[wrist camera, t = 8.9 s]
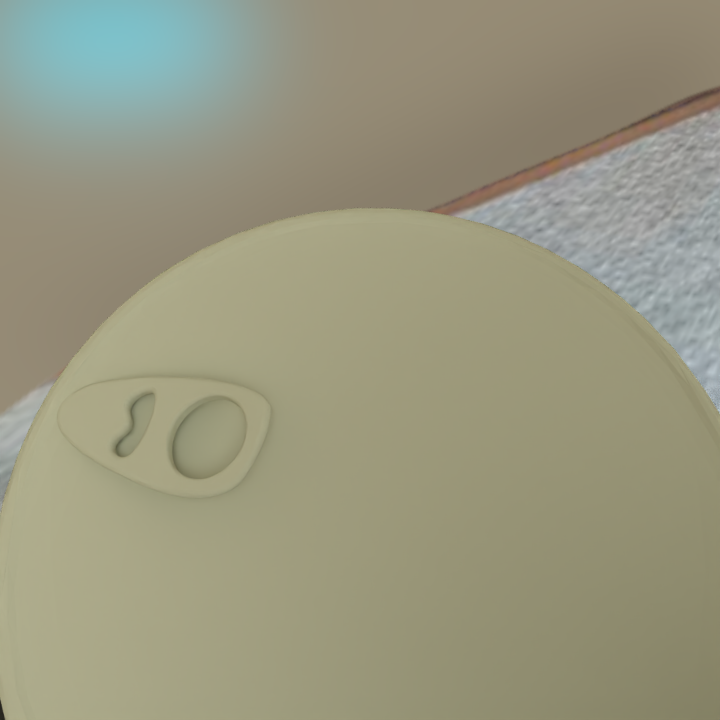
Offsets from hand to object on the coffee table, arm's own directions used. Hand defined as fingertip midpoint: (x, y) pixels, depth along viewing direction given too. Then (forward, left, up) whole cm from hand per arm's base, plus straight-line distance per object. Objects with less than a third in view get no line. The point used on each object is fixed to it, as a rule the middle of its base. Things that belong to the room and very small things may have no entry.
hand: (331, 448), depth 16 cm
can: (-1, +3, -4) cm, 5 cm away
